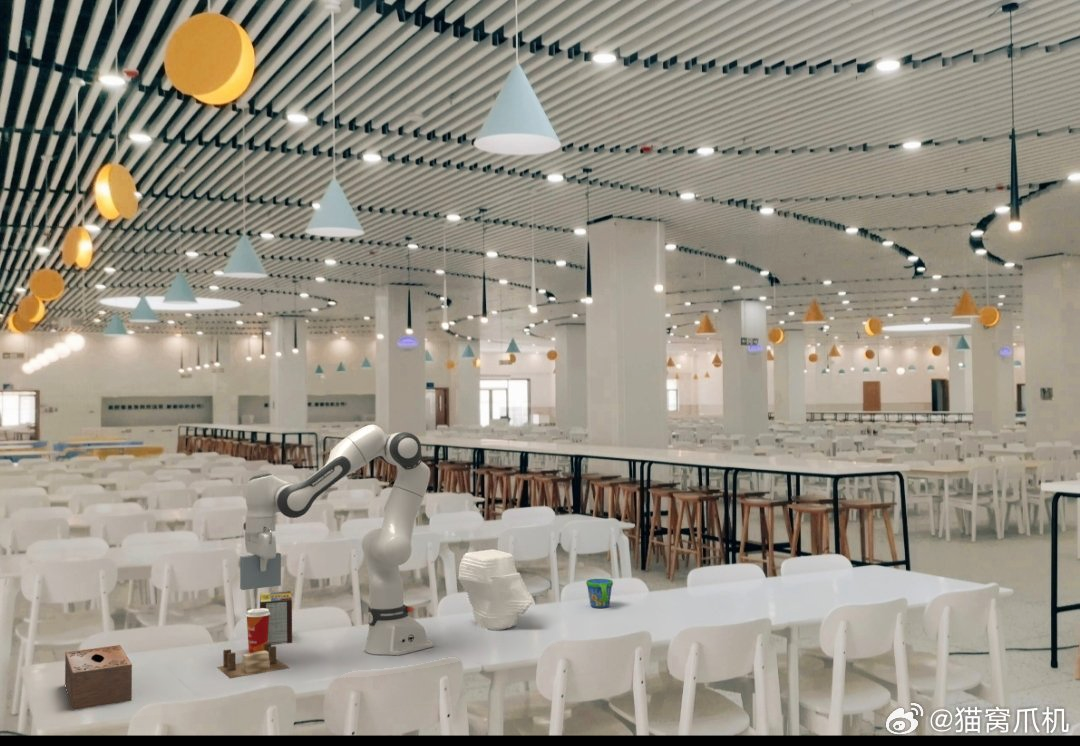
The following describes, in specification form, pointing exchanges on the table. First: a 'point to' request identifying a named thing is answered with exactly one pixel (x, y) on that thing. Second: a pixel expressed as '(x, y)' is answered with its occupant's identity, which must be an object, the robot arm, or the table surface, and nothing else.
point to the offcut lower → (257, 667)
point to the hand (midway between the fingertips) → (260, 570)
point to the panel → (259, 572)
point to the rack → (238, 669)
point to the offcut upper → (255, 657)
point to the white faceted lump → (494, 588)
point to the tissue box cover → (98, 677)
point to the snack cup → (599, 592)
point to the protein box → (278, 616)
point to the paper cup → (257, 629)
